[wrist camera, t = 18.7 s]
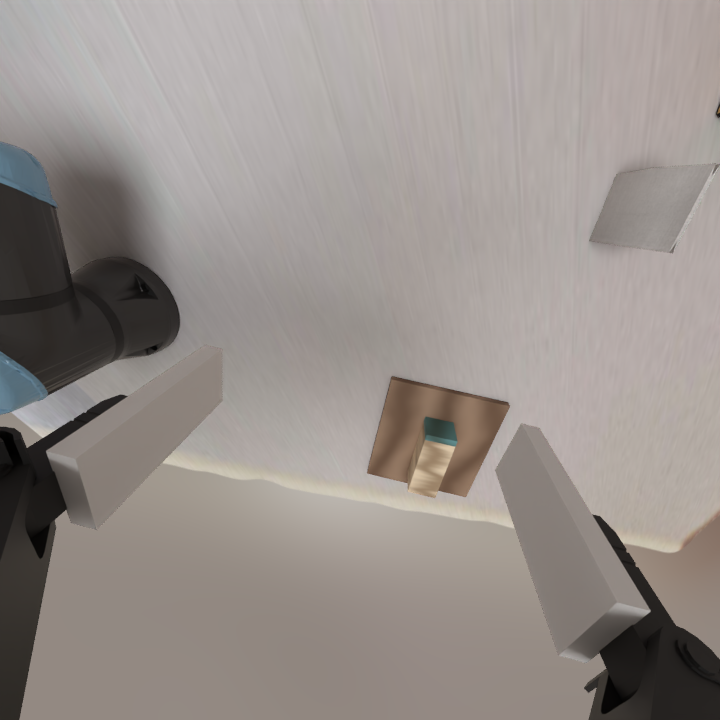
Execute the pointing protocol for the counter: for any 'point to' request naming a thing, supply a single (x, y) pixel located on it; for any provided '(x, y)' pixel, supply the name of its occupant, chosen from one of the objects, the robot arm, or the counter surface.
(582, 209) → the counter surface
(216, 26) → the counter surface
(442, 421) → the maple block
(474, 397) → the walnut board
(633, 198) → the grey slanted block
